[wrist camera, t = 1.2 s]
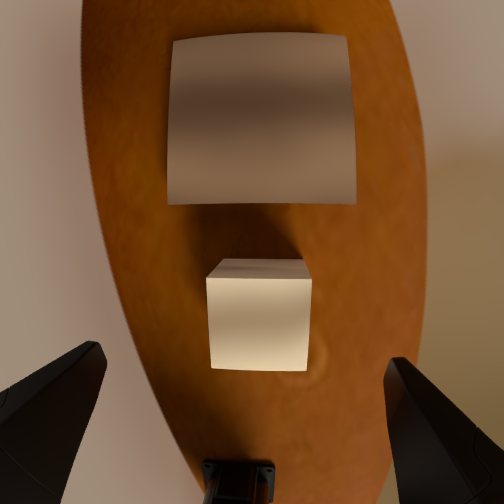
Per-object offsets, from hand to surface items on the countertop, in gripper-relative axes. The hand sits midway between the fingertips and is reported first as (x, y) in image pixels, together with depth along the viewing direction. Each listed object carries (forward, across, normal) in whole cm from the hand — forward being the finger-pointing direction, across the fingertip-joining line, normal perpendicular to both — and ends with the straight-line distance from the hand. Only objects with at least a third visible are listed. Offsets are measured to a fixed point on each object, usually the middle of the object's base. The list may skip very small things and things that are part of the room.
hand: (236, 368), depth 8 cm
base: (+13, 0, -6) cm, 15 cm away
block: (+11, 0, +4) cm, 12 cm away
